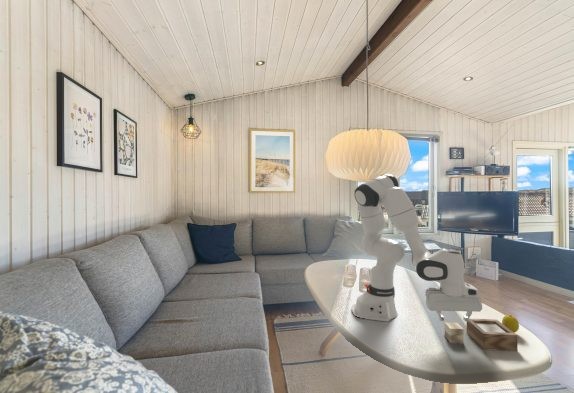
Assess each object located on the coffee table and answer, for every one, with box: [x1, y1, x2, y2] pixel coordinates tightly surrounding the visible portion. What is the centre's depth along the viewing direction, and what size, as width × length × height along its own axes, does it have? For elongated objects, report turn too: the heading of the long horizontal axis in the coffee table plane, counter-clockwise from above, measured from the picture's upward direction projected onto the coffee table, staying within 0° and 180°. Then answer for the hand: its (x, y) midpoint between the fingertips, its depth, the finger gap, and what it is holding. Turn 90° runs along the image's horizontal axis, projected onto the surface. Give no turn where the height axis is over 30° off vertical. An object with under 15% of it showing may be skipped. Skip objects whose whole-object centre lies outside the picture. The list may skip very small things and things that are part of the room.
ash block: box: [444, 322, 465, 344], centre depth 108 cm, size 5×5×6 cm
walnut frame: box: [466, 318, 518, 352], centre depth 106 cm, size 12×12×6 cm
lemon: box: [501, 314, 520, 333], centre depth 112 cm, size 6×6×8 cm
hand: (453, 320), depth 108 cm, fingers open, 8 cm apart
